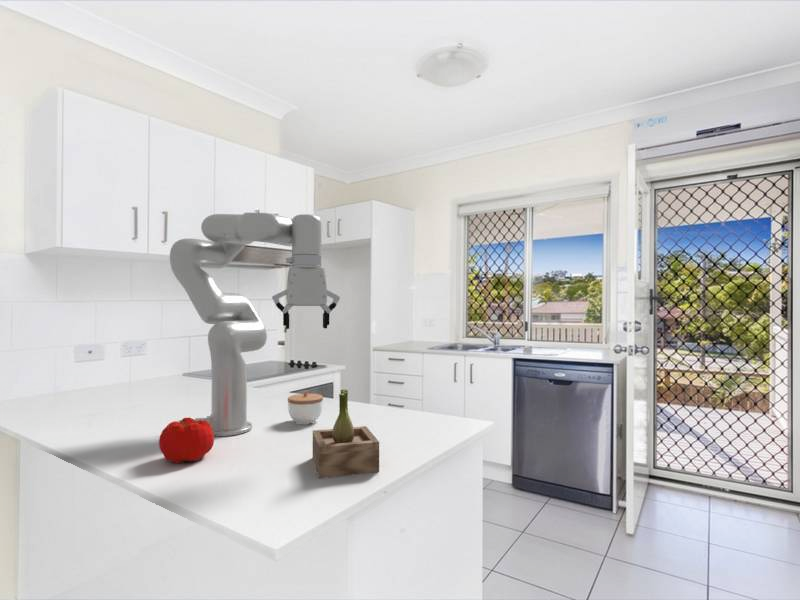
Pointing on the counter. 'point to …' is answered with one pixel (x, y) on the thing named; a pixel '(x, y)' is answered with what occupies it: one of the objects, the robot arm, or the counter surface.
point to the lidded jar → (305, 407)
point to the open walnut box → (345, 453)
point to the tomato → (186, 440)
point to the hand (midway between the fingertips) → (306, 328)
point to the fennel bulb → (343, 421)
